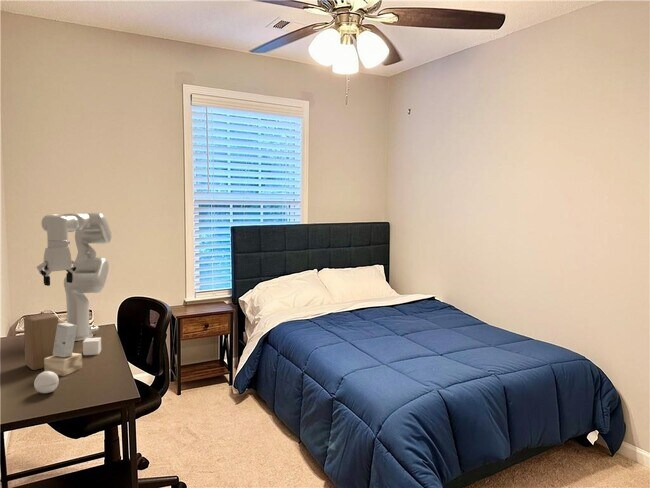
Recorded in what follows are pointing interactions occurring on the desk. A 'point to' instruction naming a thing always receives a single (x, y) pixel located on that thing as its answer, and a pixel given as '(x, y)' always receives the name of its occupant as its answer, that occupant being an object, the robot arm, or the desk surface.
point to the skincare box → (64, 339)
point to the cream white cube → (92, 346)
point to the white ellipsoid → (46, 382)
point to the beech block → (63, 364)
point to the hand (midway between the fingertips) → (58, 283)
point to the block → (39, 338)
